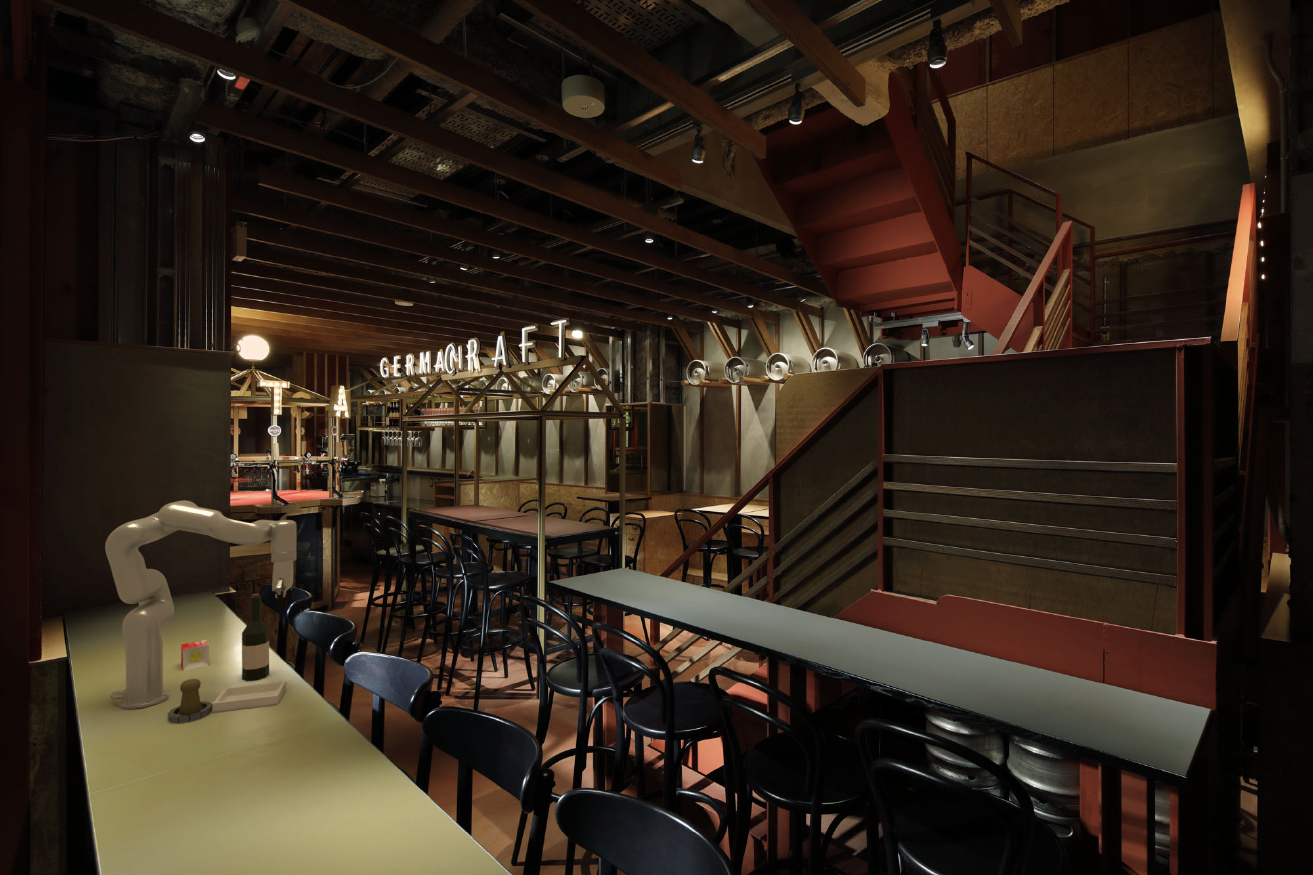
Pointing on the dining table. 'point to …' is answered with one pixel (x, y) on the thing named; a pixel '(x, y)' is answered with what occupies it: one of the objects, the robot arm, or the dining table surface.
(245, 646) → the wine bottle
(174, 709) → the stone ring
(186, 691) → the cork
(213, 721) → the dining table surface
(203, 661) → the small red white box
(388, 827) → the dining table surface
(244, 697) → the white rectangular tray
